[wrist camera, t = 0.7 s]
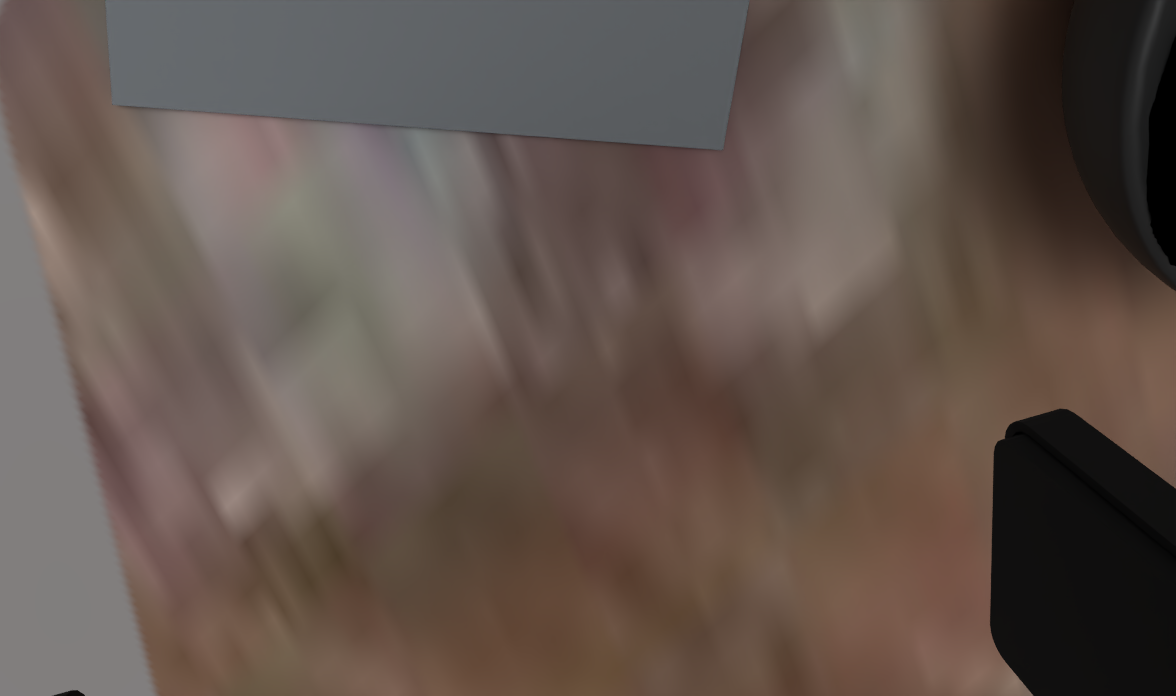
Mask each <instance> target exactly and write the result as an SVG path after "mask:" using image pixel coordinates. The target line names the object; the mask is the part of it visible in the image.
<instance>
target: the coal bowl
mask: <svg viewBox="0 0 1176 696" xmlns="http://www.w3.org/2000/svg"><path fill="white" fill-rule="evenodd" d="M1062 102H1063V112H1064V119H1065V126H1066V130H1067V135H1068V139H1069V143H1070V147H1071V151H1072V155H1073V158H1074V161H1075V164H1076V166H1077V169H1078V172H1079V175H1080V177H1081V179H1082V181H1083V183H1084V185H1085V187H1086V189H1087V191H1088V193H1089V195H1090V197H1091V199H1092V201H1093V203H1094V205H1095V207H1096V208H1097V210H1098V211H1099V213H1100V214H1101V216H1102V217H1103V219H1104V220H1105V221H1106V223H1107V224H1108V226H1109V227H1110V229H1111V230H1112V231H1113V233H1114V234H1115V236H1116V237H1117V238H1118V239H1119V240H1120V241H1121V242H1122V243H1123V245H1124V246H1125V247H1126V248H1127V249H1128V250H1129V251H1130V252H1131V253H1132V254H1133V255H1134V257H1135V258H1136V259H1137V260H1138V261H1139V262H1140V263H1141V264H1142V265H1144V266H1145V267H1146V268H1147V269H1148V270H1150V271H1151V272H1152V273H1153V274H1154V275H1156V276H1157V277H1158V278H1159V279H1160V280H1162V281H1163V282H1164V283H1165V284H1166V285H1168V286H1169V287H1171V288H1172V289H1174V290H1175V291H1176V0H1075V1H1074V5H1073V8H1072V11H1071V15H1070V20H1069V24H1068V29H1067V34H1066V40H1065V47H1064V55H1063V69H1062Z"/></svg>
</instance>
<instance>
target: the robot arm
mask: <svg viewBox="0 0 1176 696" xmlns="http://www.w3.org/2000/svg"><path fill="white" fill-rule="evenodd" d="M990 627H991V633H992V637H993V640H994V643H995V645H996V647H997V649H998V651H999V653H1000V655H1001V656H1002V658H1003V659H1004V660H1005V662H1006V663H1007V664H1008V665H1009V667H1010V668H1011V669H1012V670H1013V671H1014V673H1015V674H1016V675H1017V676H1018V677H1019V679H1020V680H1021V681H1022V682H1023V683H1024V685H1025V686H1026V687H1027V688H1028V689H1029V691H1030V692H1031V693H1032V694H1033V695H1034V696H1176V489H1175V488H1174V487H1173V486H1171V485H1170V484H1169V483H1167V482H1166V481H1165V480H1163V479H1162V478H1161V477H1159V476H1158V475H1157V474H1155V473H1154V472H1153V471H1151V470H1150V469H1149V468H1147V467H1146V466H1145V465H1143V464H1142V463H1141V462H1139V461H1138V460H1137V459H1135V458H1134V457H1133V456H1131V455H1130V454H1129V453H1127V452H1126V451H1125V450H1123V449H1122V448H1121V447H1119V446H1118V445H1117V444H1115V443H1114V442H1113V441H1111V440H1110V439H1109V438H1107V437H1106V436H1105V435H1103V434H1102V433H1101V432H1099V431H1098V430H1096V429H1095V428H1094V427H1092V426H1091V425H1090V424H1088V423H1087V422H1086V421H1084V420H1083V419H1082V418H1080V417H1079V416H1078V415H1076V414H1075V413H1073V412H1071V411H1069V410H1068V409H1058V410H1054V411H1051V412H1047V413H1044V414H1040V415H1037V416H1033V417H1030V418H1026V419H1023V420H1019V421H1016V422H1013V423H1012V424H1010V425H1009V427H1008V428H1007V430H1006V434H1005V439H1003V440H1000V441H998V442H997V444H996V445H995V449H994V471H993V517H992V563H991V609H990ZM54 696H85V695H84V694H82V693H81V692H79V691H78V690H73V691H68V692H64V693H61V694H57V695H54Z"/></svg>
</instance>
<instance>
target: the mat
mask: <svg viewBox="0 0 1176 696" xmlns="http://www.w3.org/2000/svg"><path fill="white" fill-rule="evenodd" d="M105 4H106V19H107V33H108V48H109V63H110V78H111V92H112V105H122V106H135V107H149V108H162V109H175V110H189V111H202V112H216V113H229V114H243V115H256V116H270V117H283V118H296V119H310V120H323V121H337V122H350V123H364V124H377V125H390V126H404V127H417V128H431V129H444V130H458V131H471V132H484V133H498V134H511V135H525V136H538V137H552V138H565V139H578V140H592V141H605V142H619V143H632V144H646V145H659V146H673V147H686V148H699V149H713V150H723V147H724V141H725V135H726V130H727V124H728V118H729V113H730V107H731V102H732V96H733V90H734V85H735V79H736V73H737V68H738V62H739V56H740V51H741V45H742V40H743V34H744V28H745V23H746V17H747V11H748V6H749V0H105Z"/></svg>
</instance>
